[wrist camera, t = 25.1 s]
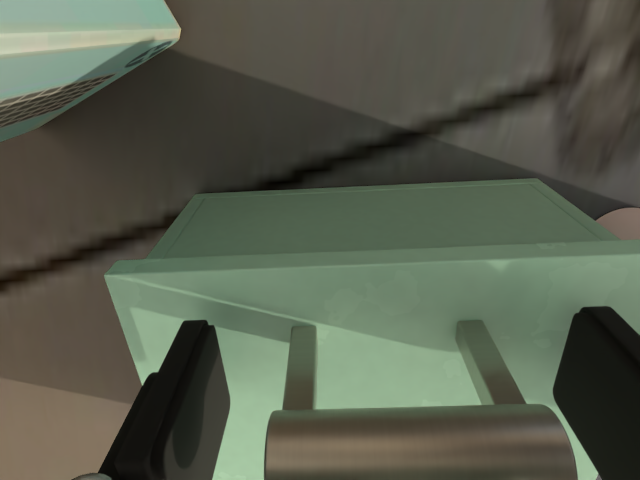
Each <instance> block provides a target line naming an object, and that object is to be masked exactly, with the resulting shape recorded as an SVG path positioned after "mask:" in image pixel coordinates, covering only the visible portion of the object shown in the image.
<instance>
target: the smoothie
mask: <svg viewBox="0 0 640 480" xmlns="http://www.w3.org/2000/svg"><path fill="white" fill-rule="evenodd" d="M596 222H597V223H599V224H600V225H601V226H603V227H604V228H606V229H607V230H608V231H610V232H611V233H612V234H614V235H615V236H616V237H618V238H619V239H621V240H635V239H640V208H622V209H618V210H615V211H612V212H610V213H607V214H605V215H603V216H602V217H600V218H599V219H597V220H596Z"/></svg>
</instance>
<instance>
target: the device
mask: <svg viewBox="0 0 640 480" xmlns="http://www.w3.org/2000/svg"><path fill="white" fill-rule="evenodd" d="M180 33H181V28H180V26H179V25H178V23H177V21H176V19H175V18H174V16H173V14H172V13H171V11H170V9H169V8H168V6H167V4H166V3H165V1H164V0H0V142H2V141H5V140H8V139H10V138H13V137H16V136H19V135H21V134H24V133H27V132H30V131H32V130H35V129H37V128H39V127H41V126H42V125H44V124H45V123H47V122H49V121H50V120H52V119H54V118H55V117H57V116H58V115H60V114H62V113H63V112H65V111H66V110H68V109H70V108H71V107H73V106H75V105H76V104H78V103H79V102H81V101H83V100H84V99H86V98H88V97H89V96H91V95H92V94H94V93H96V92H97V91H99V90H101V89H102V88H104V87H105V86H107V85H109V84H110V83H112V82H113V81H115V80H117V79H118V78H120V77H122V76H123V75H125V74H126V73H128V72H130V71H131V70H133V69H135V68H136V67H138V66H139V65H141V64H143V63H144V62H146V61H147V60H149V59H151V58H152V57H154V56H156V55H157V54H159V53H160V52H162V51H164V50H165V49H167V48H168V47H170V46H172V45H173V44H174V43H176V42H177V41H178V40H179V38H180Z"/></svg>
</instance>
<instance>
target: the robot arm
mask: <svg viewBox="0 0 640 480" xmlns="http://www.w3.org/2000/svg"><path fill="white" fill-rule="evenodd" d="M553 397H554V400H555V402H556V404H557V406H558V407H559V409H560V411H561V412H562V414H563V416H564V417H565V419H566V421H567V422H568V424H569V426H570V427H571V429H572V430H573V432H574V434H575V435H576V437H577V439H578V440H579V442H580V444H581V445H582V447H583V449H584V450H585V452H586V454H587V455H588V457H589V459H590V460H591V462H592V463H593V465H594V467H595V468H596V470H597V472H598V473H599V475H600V477H601V478H602V480H640V335H639V334H638V333H637V332H636V331H635V330H634V329H633V328H632V327H631V326H630V325H629V324H628V323H627V322H626V321H625V320H624V319H623V318H622V317H621V316H620V315H619V314H618V313H617V312H616V311H615V310H614V309H612V308H611V307H609V306H593V307H583V308H581V309H580V311H579V313H575V314H574V316H573V318H572V322H571V325H570V329H569V332H568V336H567V340H566V343H565V347H564V350H563V354H562V357H561V361H560V364H559V368H558V371H557V375H556V378H555V382H554V385H553ZM229 411H230V394H229V389H228V384H227V380H226V375H225V371H224V366H223V361H222V357H221V352H220V347H219V343H218V338H217V334H216V329H215V326H214V325H209V324H208V322H207V320H185V321H183V323H182V324H181V326H180V328H179V330H178V332H177V334H176V336H175V338H174V340H173V342H172V345H171V347H170V349H169V351H168V353H167V355H166V357H165V359H164V361H163V363H162V365H161V367H160V369H159V371H158V372H152V373H151V374H149V375H148V377H147V378H146V380H145V382H144V384H143V386H142V388H141V390H140V392H139V394H138V396H137V397H136V399H135V401H134V403H133V405H132V407H131V409H130V411H129V413H128V415H127V417H126V419H125V421H124V423H123V425H122V427H121V429H120V431H119V433H118V434H117V436H116V438H115V440H114V442H113V444H112V446H111V448H110V450H109V452H108V454H107V456H106V458H105V460H104V462H103V464H102V466H101V468H100V470H99V472H98V473H89V474H85V475H80V476H78V477H76V478H74V479H72V480H212V478H213V474H214V470H215V466H216V463H217V459H218V455H219V451H220V447H221V443H222V439H223V435H224V431H225V427H226V423H227V419H228V415H229Z"/></svg>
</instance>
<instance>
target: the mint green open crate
mask: <svg viewBox="0 0 640 480" xmlns="http://www.w3.org/2000/svg"><path fill="white" fill-rule="evenodd" d="M611 240H621V239H619V238H618V237H616V236H615V235H614V234H612V233H611V232H610V231H608V230H607V229H606V228H604V227H603V226H601V225H600V224H599V223H597V222H596V221H595V220H593V219H592V218H591V217H589V216H588V215H586V214H585V213H584V212H582V211H581V210H580V209H578V208H577V207H576V206H574V205H573V204H571V203H570V202H569V201H567V200H566V199H565V198H563V197H562V196H561V195H559V194H558V193H556V192H555V191H554V190H552V189H551V188H550V187H548V186H547V185H546V184H544V183H543V182H541V181H540V180H539V179H537V178H529V179H507V180H486V181H464V182H442V183H421V184H399V185H377V186H356V187H334V188H312V189H290V190H269V191H247V192H225V193H204V194H195V195H194V196H193V198H192V199H191V200H190V202H189V203H188V204H187V205H186V207H185V208H184V209H183V211H182V212H181V213H180V214H179V216H178V217H177V218H176V220H175V221H174V222H173V223H172V225H171V226H170V227H169V229H168V230H167V231H166V233H165V234H164V235H163V236H162V238H161V239H160V240H159V242H158V243H157V244H156V245H155V247H154V248H153V249H152V251H151V252H150V253H149V255H148V256H147V257H146V258H145V259H163V258H188V257H213V256H238V255H263V254H287V253H312V252H337V251H362V250H387V249H412V248H437V247H461V246H486V245H511V244H536V243H561V242H586V241H611Z"/></svg>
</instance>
